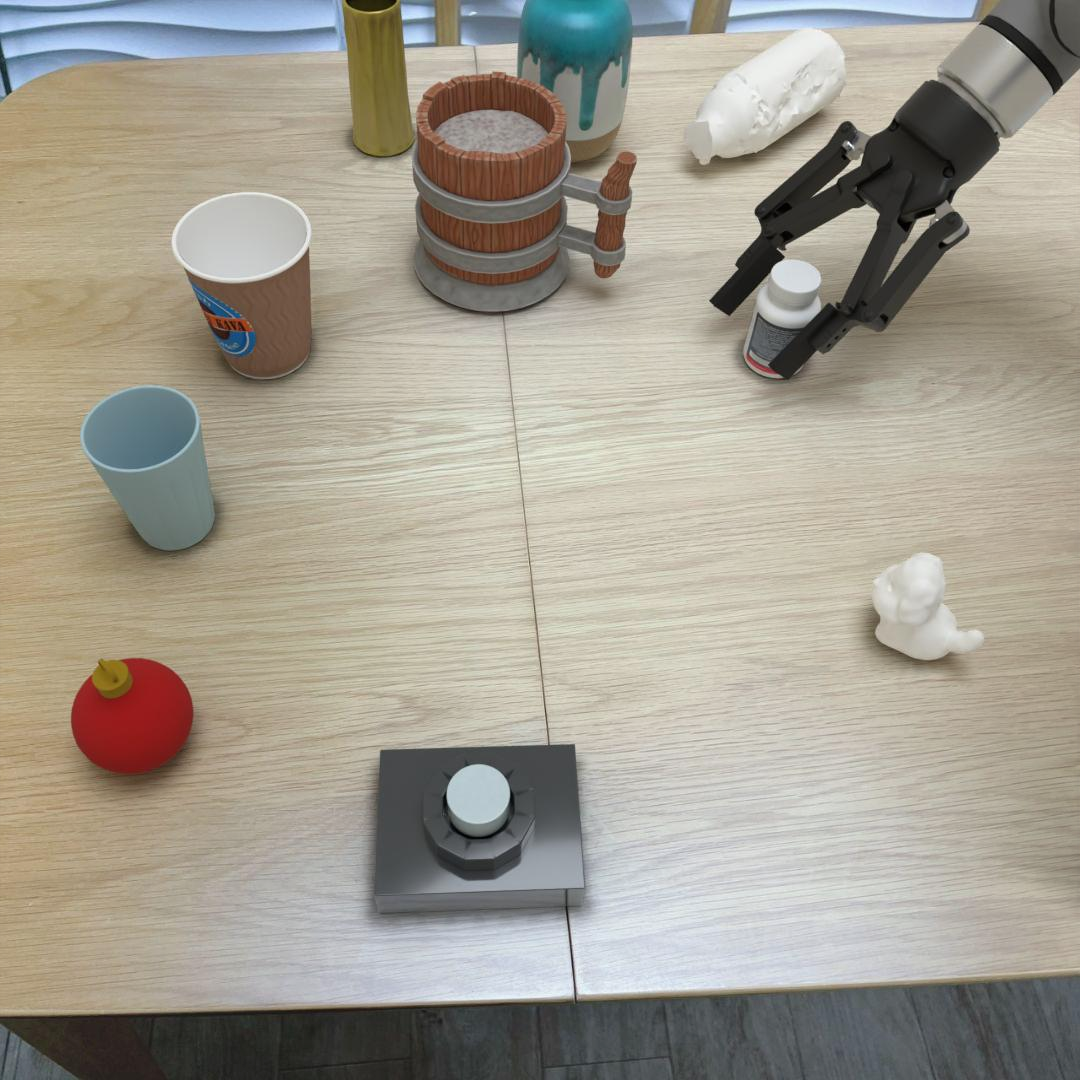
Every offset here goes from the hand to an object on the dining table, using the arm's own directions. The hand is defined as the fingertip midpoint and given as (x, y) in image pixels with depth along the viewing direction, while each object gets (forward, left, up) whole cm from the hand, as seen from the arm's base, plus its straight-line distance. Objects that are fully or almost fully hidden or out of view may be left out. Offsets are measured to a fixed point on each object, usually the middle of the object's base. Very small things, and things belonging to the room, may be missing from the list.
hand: (748, 339), depth 89 cm
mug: (+22, +4, -4) cm, 23 cm away
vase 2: (+31, -13, -4) cm, 34 cm away
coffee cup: (+30, +26, -4) cm, 40 cm away
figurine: (-24, +13, -4) cm, 28 cm away
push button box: (-12, +44, -4) cm, 46 cm away
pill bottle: (-1, -3, -4) cm, 5 cm away
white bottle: (+18, -28, -4) cm, 34 cm away
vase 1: (+45, -1, -4) cm, 45 cm away
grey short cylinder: (-12, +44, +1) cm, 45 cm away
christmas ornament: (+8, +54, -4) cm, 54 cm away
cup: (+21, +42, -4) cm, 47 cm away
